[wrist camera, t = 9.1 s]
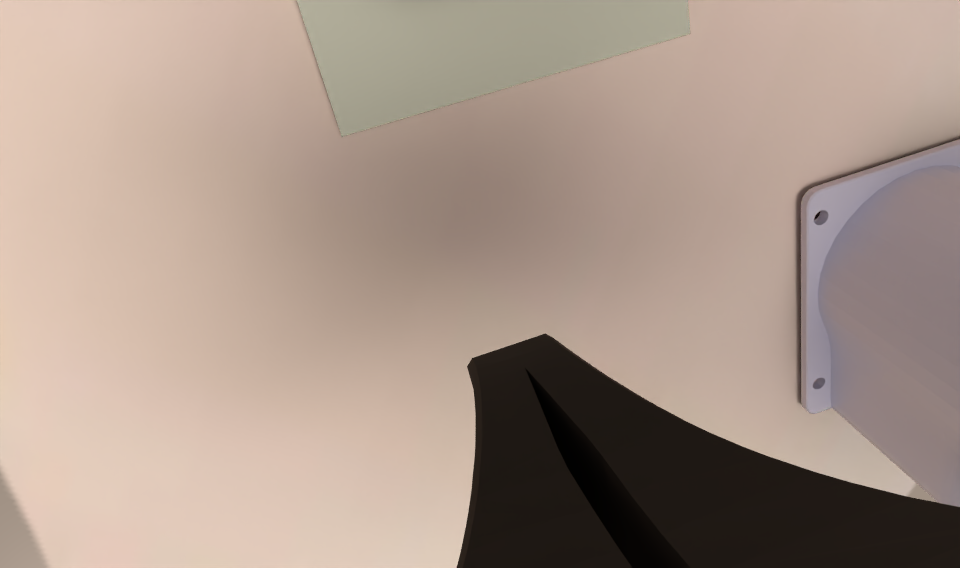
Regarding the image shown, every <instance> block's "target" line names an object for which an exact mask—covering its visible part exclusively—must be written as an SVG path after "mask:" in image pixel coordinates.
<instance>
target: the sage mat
mask: <svg viewBox="0 0 960 568" xmlns="http://www.w3.org/2000/svg"><path fill="white" fill-rule="evenodd" d="M297 3H298V6H299V9H300V12H301V15H302V18H303V21H304V24H305V27H306V30H307V33H308V36H309V39H310V42H311V45H312V48H313V51H314V54H315V57H316V60H317V63H318V66H319V69H320V73H321V76H322V79H323V82H324V85H325V88H326V91H327V94H328V97H329V100H330V103H331V106H332V109H333V112H334V115H335V118H336V121H337V124H338V127H339V130H340V133H341V136H342V137H343V136H347V135H350V134H354V133H357V132H360V131H364V130H367V129H371V128H374V127H377V126H381V125H384V124H387V123H391V122H394V121H398V120H401V119H404V118H408V117H411V116H414V115H418V114H421V113H425V112H428V111H431V110H435V109H438V108H441V107H445V106H448V105H452V104H455V103H458V102H462V101H465V100H469V99H472V98H475V97H479V96H482V95H485V94H489V93H492V92H496V91H499V90H502V89H506V88H509V87H512V86H516V85H519V84H523V83H526V82H529V81H533V80H536V79H540V78H543V77H546V76H550V75H553V74H556V73H560V72H563V71H567V70H570V69H573V68H577V67H580V66H583V65H587V64H590V63H594V62H597V61H600V60H604V59H607V58H610V57H614V56H617V55H621V54H624V53H627V52H631V51H634V50H638V49H641V48H644V47H648V46H651V45H654V44H658V43H661V42H665V41H668V40H671V39H675V38H678V37H681V36H685V35H688V34H690V22H689V9H688V0H297Z"/></svg>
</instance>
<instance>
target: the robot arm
mask: <svg viewBox="0 0 960 568" xmlns="http://www.w3.org/2000/svg"><path fill="white" fill-rule="evenodd" d="M819 211H821V212H820V215H819V216H818V218H817V219H815V220H814V218H815V215H816V214H817V213H818V212H819ZM467 368H468V371H469V375H470V378H471V382H472V385H473V389H474V396H475V410H476V446H475V460H474V471H473V481H472V491H471V499H470V506H469V512H468V518H467V524H466V529H465V534H464V539H463V544H462V549H461V553H460V557H459V561H458V565H457V568H960V139H958V140H955V141H952V142H949V143H946V144H943V145H940V146H937V147H934V148H931V149H928V150H925V151H922V152H919V153H916V154H913V155H910V156H906V157H903V158H900V159H897V160H894V161H891V162H888V163H885V164H882V165H879V166H876V167H873V168H870V169H867V170H864V171H861V172H858V173H854V174H851V175H848V176H845V177H842V178H839V179H836V180H833V181H830V182H827V183H824V184H821V185H818V186H815V187H813V188H811V189H809V190H808V191H807V192H806V193H805V195H804V196H803V198H802V201H801V404H802V406H803V407H804V408H805V409H806V410H807V411H808V412H809V413H812V414H815V413H819V412H822V411H825V410H827V409H830V408H833V409H834V410H835V411H836V412H837V413H838V414H840V415H841V416H842V417H843V418H844V419H845V420H846V421H847V422H849V423H850V424H851V425H852V426H853V427H854V428H855V429H856V430H858V431H859V432H860V433H861V434H862V435H863V436H864V437H865V438H866V439H868V440H869V441H870V442H871V443H872V444H873V445H874V446H875V447H877V448H878V449H879V450H880V451H881V452H882V453H883V454H884V455H886V456H887V457H888V458H889V459H890V460H891V461H892V462H893V463H894V464H896V465H897V466H898V467H899V468H900V469H901V470H902V471H903V472H905V473H906V474H907V475H908V476H909V477H910V478H911V479H912V480H914V481H915V482H916V483H917V484H918V485H919V486H920V487H921V488H922V489H924V490H925V491H926V492H927V493H928V494H929V495H931V497H933V498H934V499H935V500H936V501H937V502H938V503H937V502H931V501H926V500H920V499H916V498H911V497H906V496H902V495H898V494H894V493H890V492H886V491H882V490H878V489H874V488H870V487H866V486H862V485H858V484H854V483H850V482H847V481H843V480H840V479H837V478H833V477H830V476H826V475H823V474H819V473H816V472H813V471H810V470H807V469H804V468H801V467H798V466H795V465H792V464H789V463H786V462H783V461H780V460H777V459H774V458H771V457H768V456H766V455H763V454H760V453H758V452H755V451H752V450H750V449H747V448H744V447H742V446H740V445H737V444H735V443H733V442H730V441H728V440H726V439H723V438H721V437H719V436H716V435H714V434H711V433H709V432H707V431H705V430H703V429H701V428H699V427H697V426H695V425H693V424H690V423H688V422H686V421H684V420H683V419H681V418H679V417H677V416H675V415H673V414H671V413H669V412H667V411H666V410H664V409H662V408H660V407H658V406H656V405H655V404H653V403H651V402H649V401H648V400H646V399H644V398H642V397H641V396H639V395H637V394H636V393H634V392H632V391H631V390H629V389H627V388H626V387H624V386H623V385H621V384H619V383H618V382H616V381H614V380H613V379H611V378H610V377H608V376H607V375H605V374H604V373H602V372H600V371H599V370H597V369H596V368H595V367H593V366H592V365H590V364H589V363H587V362H586V361H584V360H583V359H581V358H580V357H579V356H577V355H576V354H574V353H573V352H572V351H570V350H569V349H567V348H566V347H565V346H563V345H562V344H561V343H559V342H558V341H557V340H555V339H554V338H552V337H551V336H549V335H547V334H543V335H540V336H537V337H534V338H531V339H528V340H525V341H522V342H519V343H516V344H513V345H510V346H507V347H504V348H501V349H498V350H495V351H492V352H489V353H486V354H483V355H481V356H478V357H475V358H472V360H471V361H470V363H469V364H468V366H467ZM816 379H817V380H816ZM815 380H816V381H815ZM814 381H815V382H814Z"/></svg>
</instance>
